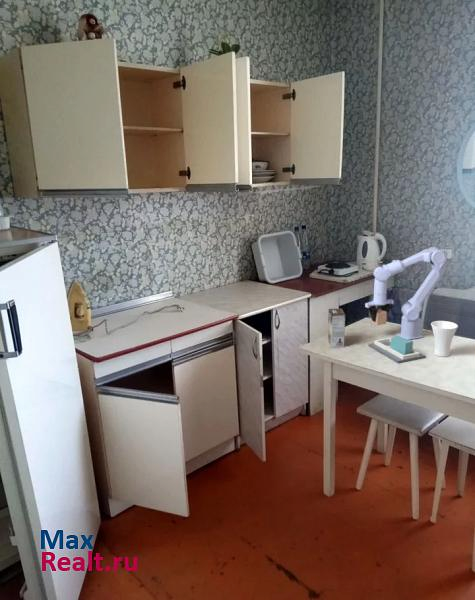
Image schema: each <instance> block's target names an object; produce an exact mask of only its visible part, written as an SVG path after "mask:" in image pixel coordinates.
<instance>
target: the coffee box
mask: <svg viewBox="0 0 475 600" xmlns="http://www.w3.org/2000/svg"><path fill="white" fill-rule="evenodd" d="M327 321H328V325H327V326H328V327H327V333H328V334H327V341H328V343H329V346H330V348H344V347H345V331H346V327H345V326H346V313H345V312H344V310H343V308H328V320H327Z"/></svg>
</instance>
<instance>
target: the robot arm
mask: <svg viewBox="0 0 475 600" xmlns="http://www.w3.org/2000/svg"><path fill="white" fill-rule="evenodd" d="M447 261H448V257H447V254H446V252H445V251H444V250H442V249H440V248H438V247H436V246H430V247H428V248H424V249H423V250H421V251H419V252H417V253H415V254H413V255H411V256H409V257H407V258H405V259H403V260H399V259H393V260H392V262H390V263H387V264H383V265H382V266H377V267H375V269H374V271H373V273H372V274H373V277H374V283H373V285H374V287H373V299H372V301H368V302H366V303H364V305H365V306H364V307H365V308H367V309H368V311H369V313H370V319H371V318H372V321H374V322H375V321H376V314H377V311H378V309H379V308H377V307H381V308H380V309H382V310H384V311H386V312H387V315H388V314H389V312H390V310H391V309H392V305H394V304H395V300H394V299H392V298H390V299H389V298H388V299H387V293H388V292H387V289H388V287H387V286H388V284H387V283H388V279H389V278H390V277H392V276H395V275H397V274H400V273H402V272H404V270H405V268H407V267H409V266H413V265H415V264H418V263H420V262H427V263H430V267H431V270H430V272H429V274H428V275H427V276H426V278H425V279H424V281H423V282H422V283H421V285H420V286H419V288H418V289H417V290H416V292H415V293H414V295H413V296H412V297H411V298H410V299H408V300H407V301H406V302H405V303H404V304H402V305H401V309H400V310H401V313H402V316H401V324H400V325H401V326H400V332H399V333H396V336H400V337H402V338H405V339H408V340H411V341H412V340H415V339H421V338H424V335H423V331H424V330H423V329H424V322H423V320H422V318H421V317H420V315H421V314H420V313H421V311H422V310H423V305H424V303H425V301H426V300H427V299H428V297H429V295H431V293H432V291H433V289H434V288H435V287H436V286H437V284H438V283H439V282H440V280H441V278H442V277H443V275H444V274H445V273H446V269H447V268H446V267H447Z"/></svg>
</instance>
